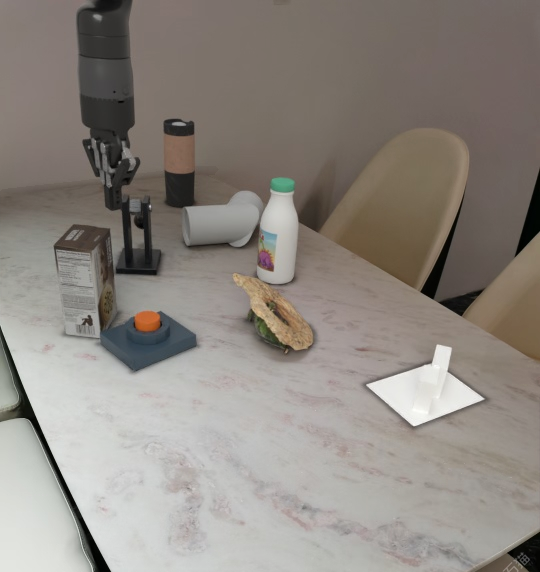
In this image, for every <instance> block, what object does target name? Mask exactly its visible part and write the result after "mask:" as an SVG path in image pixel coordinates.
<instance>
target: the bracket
mask: <svg viewBox="0 0 540 572" xmlns="http://www.w3.org/2000/svg"><path fill="white" fill-rule="evenodd" d="M130 199H131V198H130V194H128V193H127V194H123V195H122V208H121V209H120V210H119V211H121V220H122V234H123V247H122V249H121V252H120V255H119V257H118V261H117V264H116V266H115V273H116V274H123V275H124V274H125V275H149V276H150V275H151V276H152V275H153V276H156V275H157V274H158V270H159V265H160V260H161V255H162V250H161V249H160V248H153V238H152V237H153V236H152V217H151V215H152V214H151V213H152V212H153V205H152V204H151V196H150V194H149V195H147V194H144V197H143V200H142V207H143V227H144V229H143V244H144V245H143V246H144V248H139V247H138V248H137V247H136V248H135V247H134V246H133V234H132V233H133V232H132V231H133V230H132V215H131V213H130V211H129V206H130Z"/></svg>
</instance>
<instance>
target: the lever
mask: <svg viewBox="0 0 540 572" xmlns="http://www.w3.org/2000/svg"><path fill="white" fill-rule="evenodd" d="M142 202H143V200H142V199H133V198H130V206H129V211H130V215H131V216H134V217H133V224H134V226H135V227H136V228H137V229H139V230H144V227H143V207H142Z"/></svg>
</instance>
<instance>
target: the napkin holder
mask: <svg viewBox="0 0 540 572" xmlns="http://www.w3.org/2000/svg"><path fill="white" fill-rule="evenodd" d="M452 351H453V347H451V346H446V345H443V344H442V345H441V344H436V347H435V350H434V354H433V358H432V362H431V363H428V364H423V365H422V366H419V367H417V368H413V369H410V370H407V371H404V372H401V373H398V374H395V375H391V376H389V377H385V378H382V379H379V380H377V381H373V382H370V383H367V384H365V386H366V387H367V388H368V389H370V390H371V391H372V392H373V393H374V394H376V396H378V397H379V398H380V399H381V400H382V401H383V402H385V403H386V404H387V405H388V406H389V407H390V408H392V410H394V411H395V412H396V413H397V414H398V415H400V416H401V417H402V418H403V419H404V420H406V421H407V422H408V424H410V425H411V426H413V427H417V426H419V425H422V424H424V423H427V422H430V421H432V420H435V419H437V418H440V417H443V416H446V415H448V414H450V413H453V412H456V411H459V410H461V409H463V408H467V407H468V406H471V405H474V404H477V403H479V402H481V401H484V400H485V398H484V397H483V396H481V395H480V394H479V393H477V392H476V391H475V390H473V389H472V388H470V387H469V386H468V385H466V384H465V383H464V382H462V380H459V379H458V378H457V377H456V376H454V375H453V374H451V373H450V372H448V370H449V365H450V359H451V355H452Z"/></svg>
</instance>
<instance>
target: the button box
mask: <svg viewBox="0 0 540 572" xmlns="http://www.w3.org/2000/svg"><path fill="white" fill-rule="evenodd" d="M155 312H156V311H155ZM156 313H158V314H159V315H160V328H159V329H157V330H154V331H146V332H144V331H140V330H137V329H136V328H135V315H134V316H131V317H130V318H129V319H128V320H126V321H125V323H122V324H120V325H116V326H114V327H111V328H108V329H107V330H105V331H102V332H100V338H99V340H100V344H101V346H103V347H104V348H105V349H107V350H108V351H109V352H110V353H112V355H114V356H115V357H117V359H119V360H120V361H121V362H123V363H124V364H125V365H126V366H127V367H128V368H130V369H131V370H132V371H133V372H136V371H139V370H141V369H143V368H145V367H149V366H151V365H153V364H155V363H158V362H161V361H163V360H165V359H168V358H171V357H172V356H175V355H177V354H180V353H182V352H185V351H187V350H189V349H191V348H194V347H196V346H197V334H196V333H195V332H193V331H191V330H190V329H188V328H187V327H185V326H184V325H183V324H181V323H180V322H179V321H176V319H173V317H171V316H170V315H168V314H167V313H165V312H163V311H162V310H159V311H157V312H156Z"/></svg>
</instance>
